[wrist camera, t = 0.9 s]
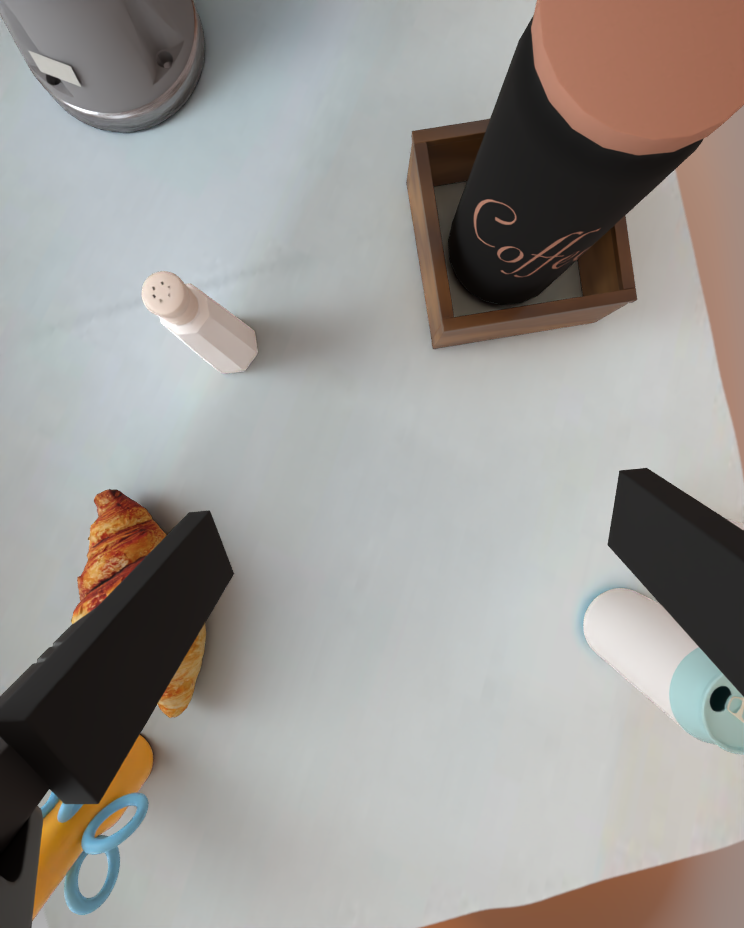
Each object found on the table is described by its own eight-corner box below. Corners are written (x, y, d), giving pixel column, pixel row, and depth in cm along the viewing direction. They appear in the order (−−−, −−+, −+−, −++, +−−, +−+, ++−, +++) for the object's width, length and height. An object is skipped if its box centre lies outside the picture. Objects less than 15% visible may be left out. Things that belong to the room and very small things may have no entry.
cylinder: (97, 679, 34) (-120, 860, 19) (198, 721, 34) (64, 933, 19) (48, 793, 34) (-205, 1063, 19) (148, 834, 34) (-23, 1133, 19)
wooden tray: (405, 181, 33) (411, 130, 28) (571, 154, 33) (609, 99, 28) (432, 350, 33) (443, 331, 28) (596, 323, 33) (637, 299, 28)
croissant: (232, 668, 37) (243, 707, 30) (120, 728, 32) (102, 791, 25) (168, 476, 36) (164, 470, 29) (43, 510, 31) (2, 512, 24)
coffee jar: (428, 285, 33) (501, 84, 15) (469, 177, 33) (593, -160, 15) (533, 327, 33) (729, 177, 15) (574, 220, 33) (823, -60, 15)
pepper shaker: (240, 306, 33) (176, 231, 22) (270, 357, 33) (221, 308, 22) (190, 335, 33) (101, 275, 22) (220, 386, 33) (146, 351, 22)
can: (588, 665, 34) (707, 778, 22) (571, 596, 34) (682, 673, 22) (658, 646, 34) (814, 749, 22) (641, 577, 34) (790, 644, 22)
